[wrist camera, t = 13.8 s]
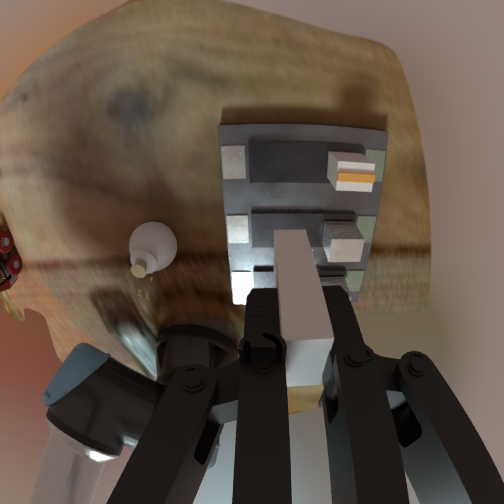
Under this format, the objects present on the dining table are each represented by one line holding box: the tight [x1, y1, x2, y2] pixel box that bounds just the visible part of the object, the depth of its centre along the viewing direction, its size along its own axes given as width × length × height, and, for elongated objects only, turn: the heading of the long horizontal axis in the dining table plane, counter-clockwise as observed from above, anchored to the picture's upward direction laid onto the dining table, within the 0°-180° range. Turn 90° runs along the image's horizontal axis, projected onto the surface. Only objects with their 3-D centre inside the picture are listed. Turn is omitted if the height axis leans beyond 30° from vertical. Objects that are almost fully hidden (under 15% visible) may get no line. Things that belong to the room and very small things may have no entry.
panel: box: [218, 122, 388, 304], centre depth 30 cm, size 18×24×6 cm
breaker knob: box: [327, 151, 375, 192], centre depth 25 cm, size 4×3×4 cm
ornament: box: [129, 221, 177, 301], centre depth 31 cm, size 6×7×10 cm
